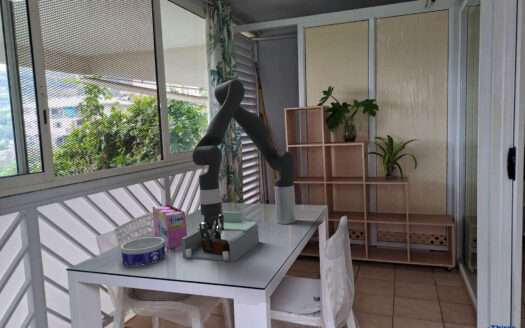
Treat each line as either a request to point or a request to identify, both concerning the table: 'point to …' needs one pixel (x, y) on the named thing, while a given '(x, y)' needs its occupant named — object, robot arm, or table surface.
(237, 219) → the cover
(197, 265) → the table surface
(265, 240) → the table surface
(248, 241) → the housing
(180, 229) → the gum box
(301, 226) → the table surface
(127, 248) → the dog bowl
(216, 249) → the brick
